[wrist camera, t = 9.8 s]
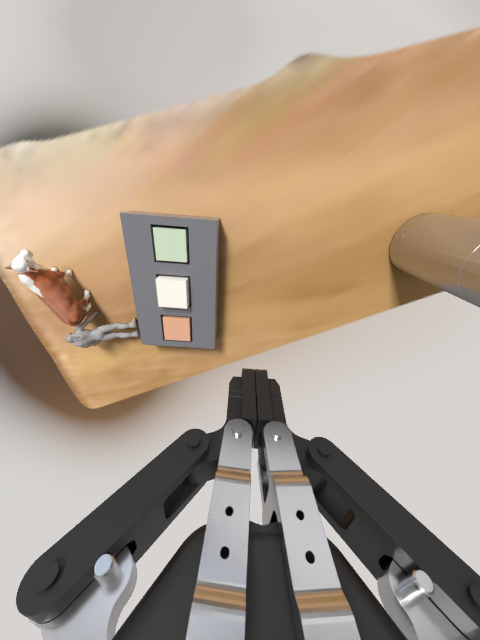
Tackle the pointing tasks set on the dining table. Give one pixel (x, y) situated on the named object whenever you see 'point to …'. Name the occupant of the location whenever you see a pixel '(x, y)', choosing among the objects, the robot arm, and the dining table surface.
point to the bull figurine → (51, 288)
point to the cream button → (173, 291)
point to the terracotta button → (177, 327)
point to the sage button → (171, 243)
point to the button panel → (198, 268)
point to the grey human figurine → (99, 333)
